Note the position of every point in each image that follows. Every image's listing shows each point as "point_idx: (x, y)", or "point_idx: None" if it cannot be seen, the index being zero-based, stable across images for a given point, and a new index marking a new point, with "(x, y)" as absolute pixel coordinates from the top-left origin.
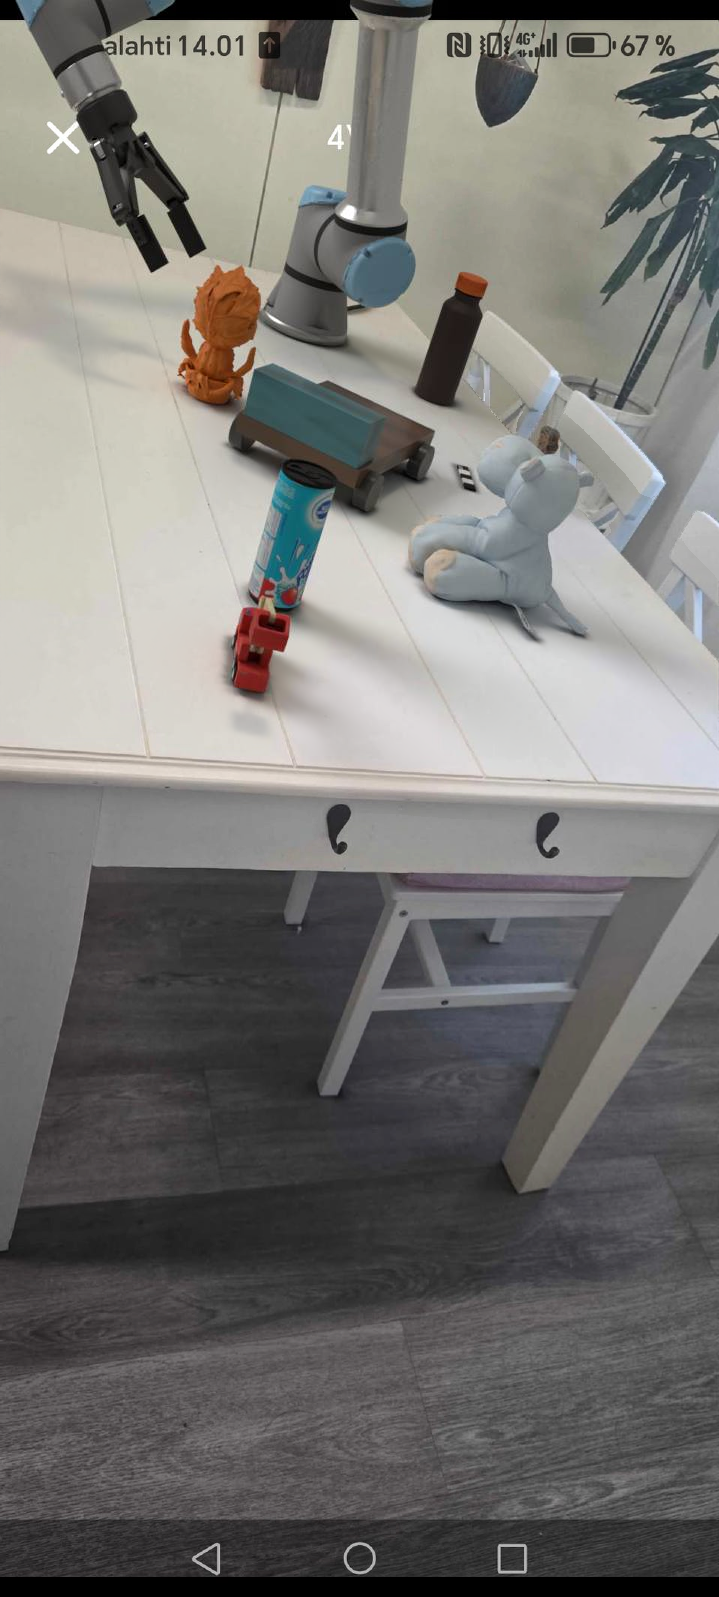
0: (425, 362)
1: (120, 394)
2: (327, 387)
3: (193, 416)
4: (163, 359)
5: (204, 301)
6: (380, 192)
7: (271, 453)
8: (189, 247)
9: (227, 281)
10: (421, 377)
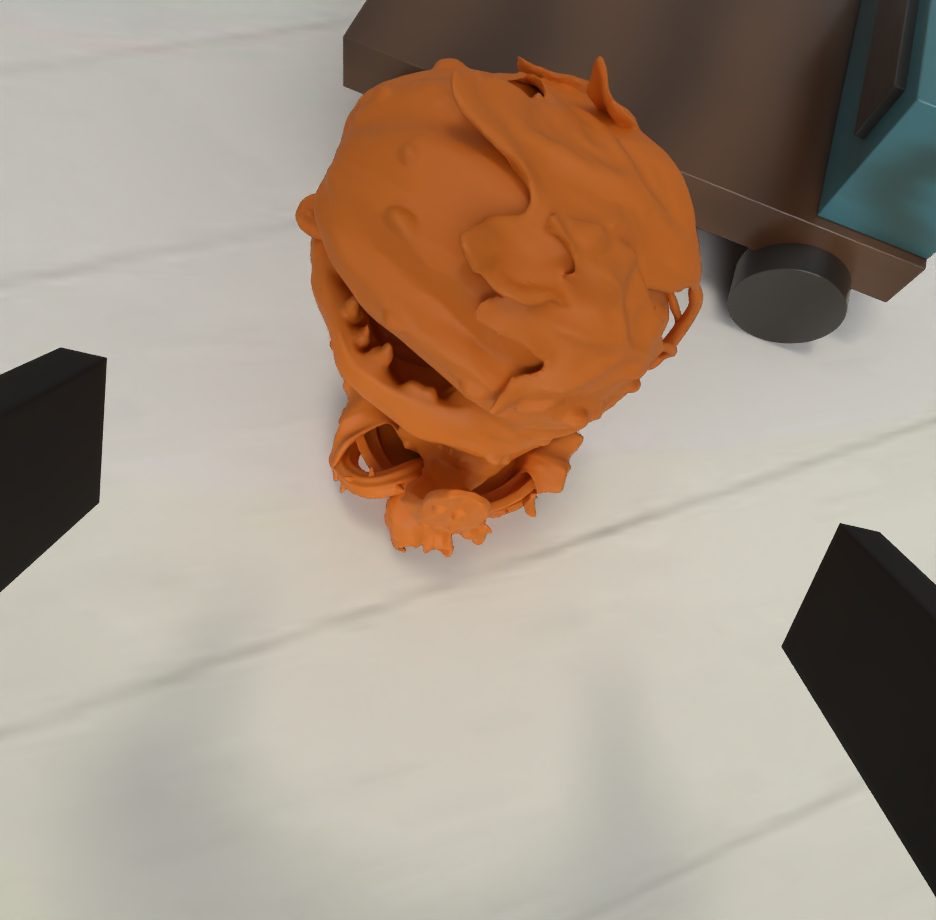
0: None
1: (715, 707)
2: (423, 41)
3: (668, 463)
4: (208, 657)
5: (657, 354)
6: None
7: (717, 249)
8: (67, 495)
9: (635, 190)
10: None
